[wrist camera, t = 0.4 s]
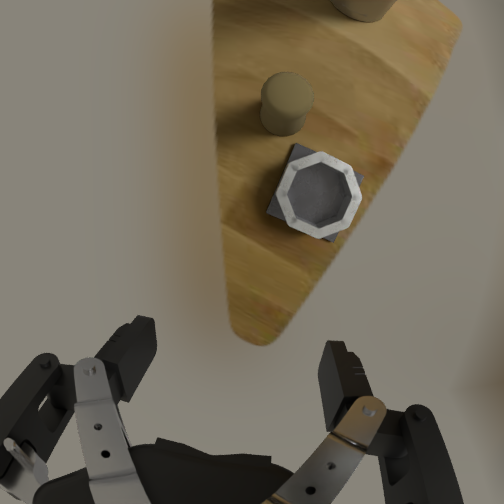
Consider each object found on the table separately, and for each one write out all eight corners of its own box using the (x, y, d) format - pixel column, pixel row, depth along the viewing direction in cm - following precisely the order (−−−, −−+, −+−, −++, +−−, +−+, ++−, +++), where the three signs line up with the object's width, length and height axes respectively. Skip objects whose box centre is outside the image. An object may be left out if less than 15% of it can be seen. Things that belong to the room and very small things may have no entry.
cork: (256, 132, 33) (250, 115, 23) (263, 90, 31) (260, 59, 21) (302, 140, 33) (316, 127, 22) (308, 98, 31) (324, 70, 21)
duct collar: (295, 143, 33) (298, 140, 30) (362, 175, 34) (371, 176, 30) (265, 212, 36) (265, 216, 33) (332, 241, 37) (338, 248, 33)
